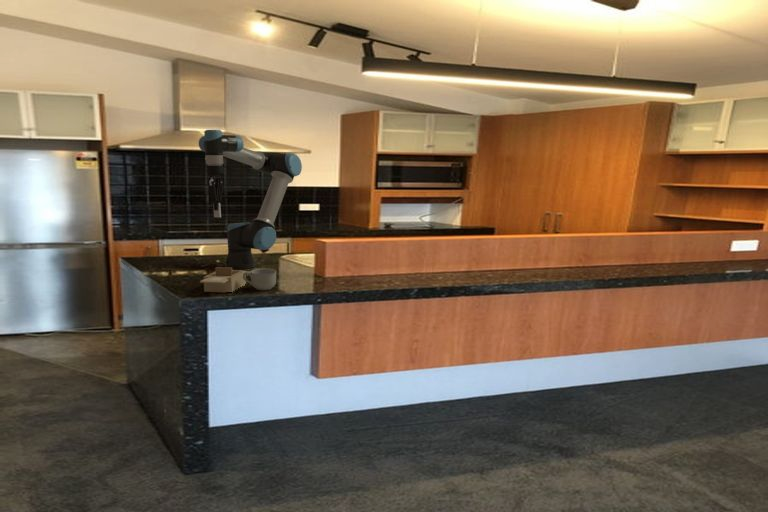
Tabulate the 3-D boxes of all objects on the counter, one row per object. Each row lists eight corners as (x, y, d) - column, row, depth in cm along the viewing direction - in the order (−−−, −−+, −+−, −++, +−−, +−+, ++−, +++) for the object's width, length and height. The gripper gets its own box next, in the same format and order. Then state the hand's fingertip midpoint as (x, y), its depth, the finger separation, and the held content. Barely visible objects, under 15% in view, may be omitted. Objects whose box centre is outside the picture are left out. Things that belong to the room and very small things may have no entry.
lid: (214, 275, 227) (214, 266, 226) (236, 276, 226) (236, 267, 225) (200, 282, 214) (199, 272, 213) (223, 283, 213) (222, 273, 212)
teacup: (278, 286, 232) (278, 268, 231) (274, 291, 222) (274, 273, 220) (246, 285, 232) (246, 268, 231) (240, 291, 221) (240, 273, 220)
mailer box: (220, 283, 236) (219, 269, 235) (246, 284, 235) (245, 270, 234) (204, 291, 220) (203, 276, 219) (231, 292, 219) (231, 277, 218)
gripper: (212, 164, 244) (215, 215, 248) (200, 165, 231) (203, 218, 235) (228, 164, 243) (230, 215, 248) (217, 165, 230) (220, 219, 235)
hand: (217, 217), depth 241 cm, fingers closed
